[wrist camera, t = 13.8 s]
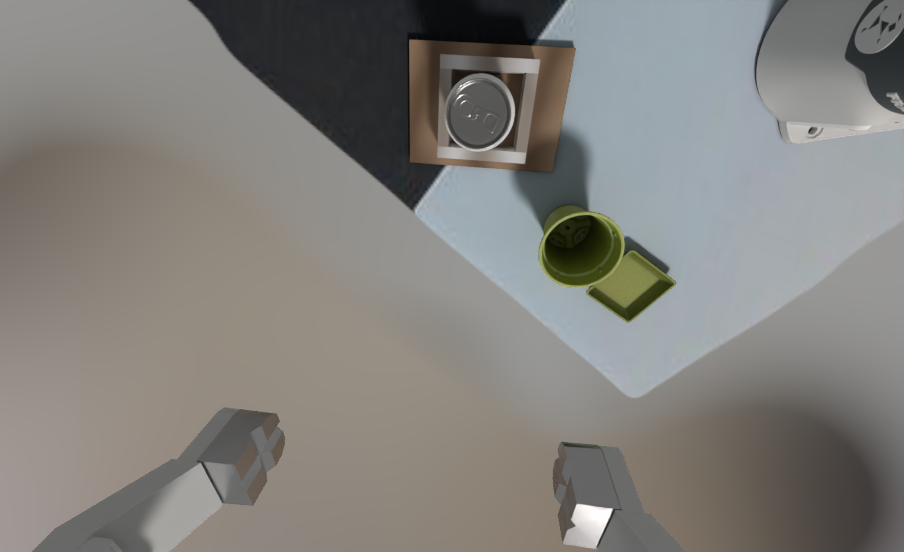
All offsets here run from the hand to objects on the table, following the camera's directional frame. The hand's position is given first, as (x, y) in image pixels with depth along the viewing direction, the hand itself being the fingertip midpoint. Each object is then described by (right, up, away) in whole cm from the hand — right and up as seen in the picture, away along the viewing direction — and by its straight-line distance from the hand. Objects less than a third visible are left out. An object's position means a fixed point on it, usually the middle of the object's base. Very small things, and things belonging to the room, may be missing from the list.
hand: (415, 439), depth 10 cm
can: (+5, +24, +30) cm, 39 cm away
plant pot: (+17, +12, +37) cm, 42 cm away
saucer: (+26, +4, +40) cm, 48 cm away
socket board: (+5, +25, +32) cm, 40 cm away
